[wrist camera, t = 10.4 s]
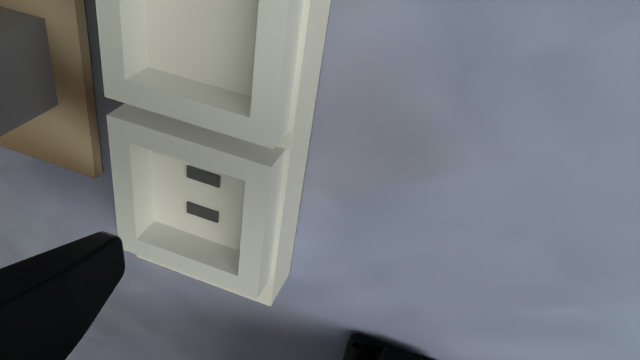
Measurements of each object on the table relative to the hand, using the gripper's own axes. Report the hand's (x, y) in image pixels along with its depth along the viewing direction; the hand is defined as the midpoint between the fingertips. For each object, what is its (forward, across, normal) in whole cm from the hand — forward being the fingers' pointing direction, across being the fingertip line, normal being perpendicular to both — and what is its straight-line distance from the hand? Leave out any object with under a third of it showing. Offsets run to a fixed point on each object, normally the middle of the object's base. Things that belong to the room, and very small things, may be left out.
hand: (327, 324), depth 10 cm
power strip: (+13, +8, +3) cm, 16 cm away
